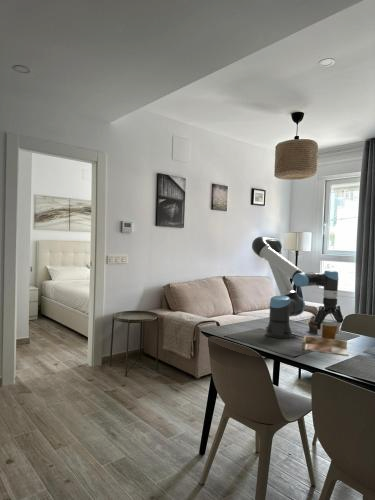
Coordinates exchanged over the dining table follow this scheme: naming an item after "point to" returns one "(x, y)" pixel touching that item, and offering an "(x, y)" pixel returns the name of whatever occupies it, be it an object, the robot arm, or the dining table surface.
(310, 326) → the cupcake
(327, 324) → the cup of beer
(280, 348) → the dining table surface
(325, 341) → the brown beige flat box
